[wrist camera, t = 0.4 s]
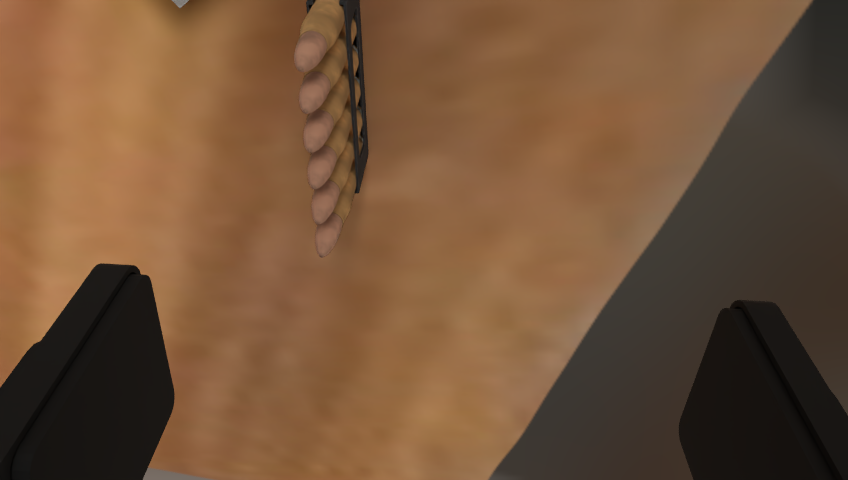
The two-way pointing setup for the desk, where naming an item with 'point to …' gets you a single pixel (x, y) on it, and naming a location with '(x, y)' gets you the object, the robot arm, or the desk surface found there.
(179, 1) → the end cap board
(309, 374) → the desk surface
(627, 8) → the desk surface
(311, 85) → the ammunition clip
